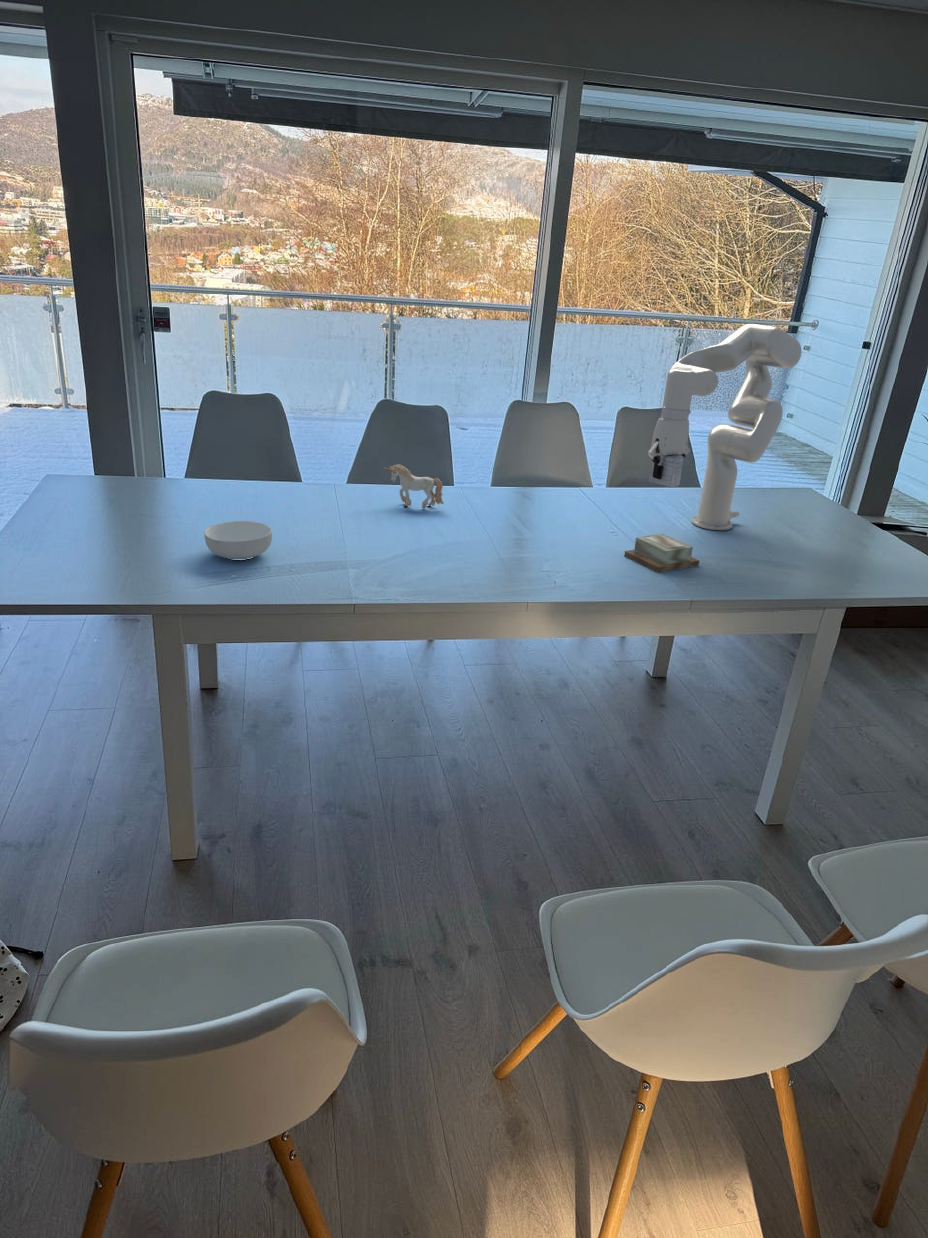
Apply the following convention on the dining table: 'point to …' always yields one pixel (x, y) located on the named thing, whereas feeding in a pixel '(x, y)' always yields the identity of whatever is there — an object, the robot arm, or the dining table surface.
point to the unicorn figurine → (416, 485)
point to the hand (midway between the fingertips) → (664, 476)
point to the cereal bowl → (238, 539)
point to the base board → (656, 565)
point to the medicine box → (669, 471)
